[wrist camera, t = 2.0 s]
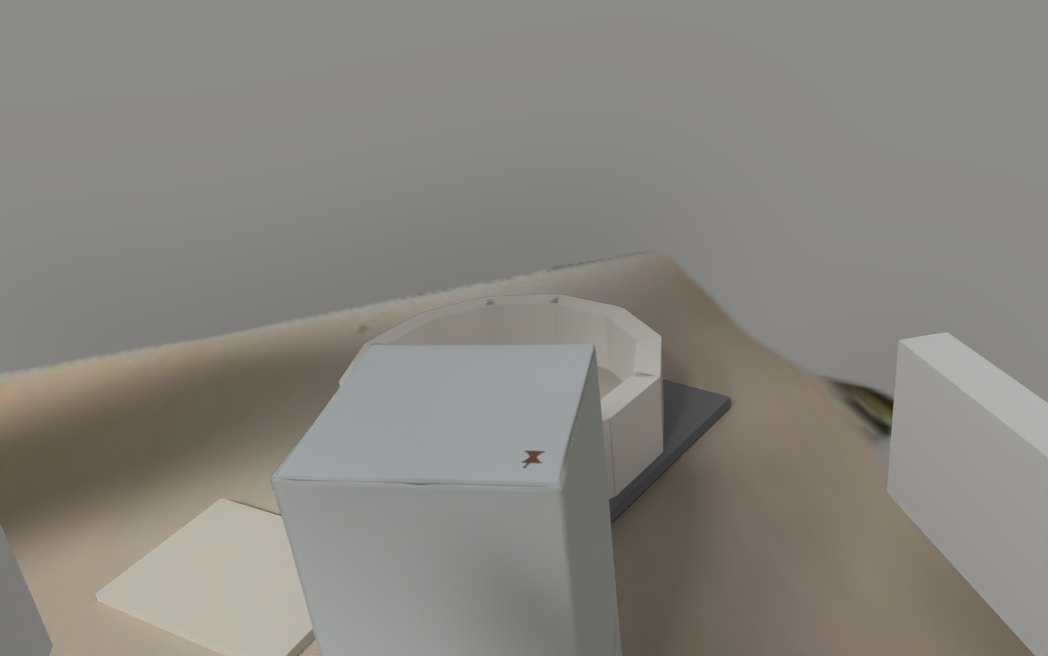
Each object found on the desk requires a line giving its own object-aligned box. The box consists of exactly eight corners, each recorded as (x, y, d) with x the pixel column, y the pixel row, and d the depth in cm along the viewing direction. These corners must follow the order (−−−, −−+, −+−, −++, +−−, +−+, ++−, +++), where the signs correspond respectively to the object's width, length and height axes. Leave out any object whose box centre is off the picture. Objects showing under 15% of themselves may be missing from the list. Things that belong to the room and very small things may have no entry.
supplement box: (627, 658, 32) (606, 338, 26) (600, 860, 25) (564, 488, 20) (428, 642, 33) (370, 337, 28) (355, 826, 27) (260, 475, 21)
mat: (286, 472, 45) (283, 462, 44) (492, 343, 56) (491, 334, 55) (541, 591, 35) (539, 579, 35) (730, 407, 46) (730, 397, 46)
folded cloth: (102, 612, 38) (95, 593, 37) (226, 515, 43) (221, 497, 42) (279, 688, 33) (273, 667, 32) (393, 568, 38) (389, 549, 38)
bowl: (295, 460, 44) (277, 390, 43) (492, 338, 55) (485, 277, 53) (537, 570, 35) (528, 486, 34) (719, 399, 46) (718, 328, 44)
